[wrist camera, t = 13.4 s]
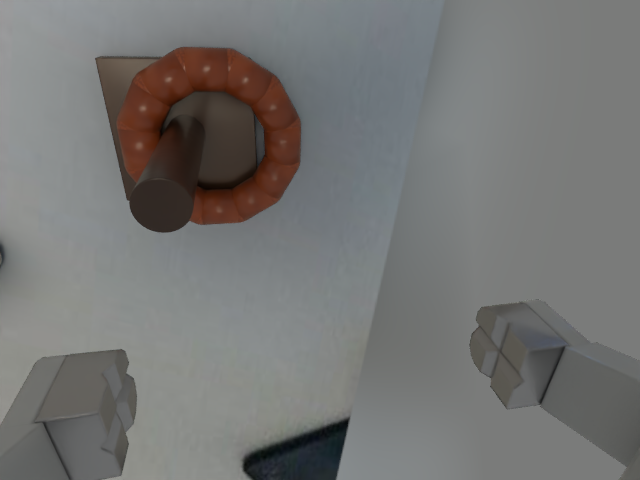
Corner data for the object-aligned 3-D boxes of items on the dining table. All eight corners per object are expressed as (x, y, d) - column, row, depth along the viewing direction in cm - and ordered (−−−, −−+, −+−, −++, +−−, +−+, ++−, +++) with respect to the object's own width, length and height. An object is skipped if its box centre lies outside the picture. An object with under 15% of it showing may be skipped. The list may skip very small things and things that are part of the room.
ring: (298, 48, 25) (305, 51, 23) (296, 210, 31) (302, 224, 29) (106, 43, 23) (94, 45, 21) (140, 219, 28) (133, 234, 26)
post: (250, 57, 26) (270, 86, 15) (257, 187, 30) (277, 287, 19) (100, 56, 24) (-8, 87, 13) (130, 194, 29) (69, 308, 17)
